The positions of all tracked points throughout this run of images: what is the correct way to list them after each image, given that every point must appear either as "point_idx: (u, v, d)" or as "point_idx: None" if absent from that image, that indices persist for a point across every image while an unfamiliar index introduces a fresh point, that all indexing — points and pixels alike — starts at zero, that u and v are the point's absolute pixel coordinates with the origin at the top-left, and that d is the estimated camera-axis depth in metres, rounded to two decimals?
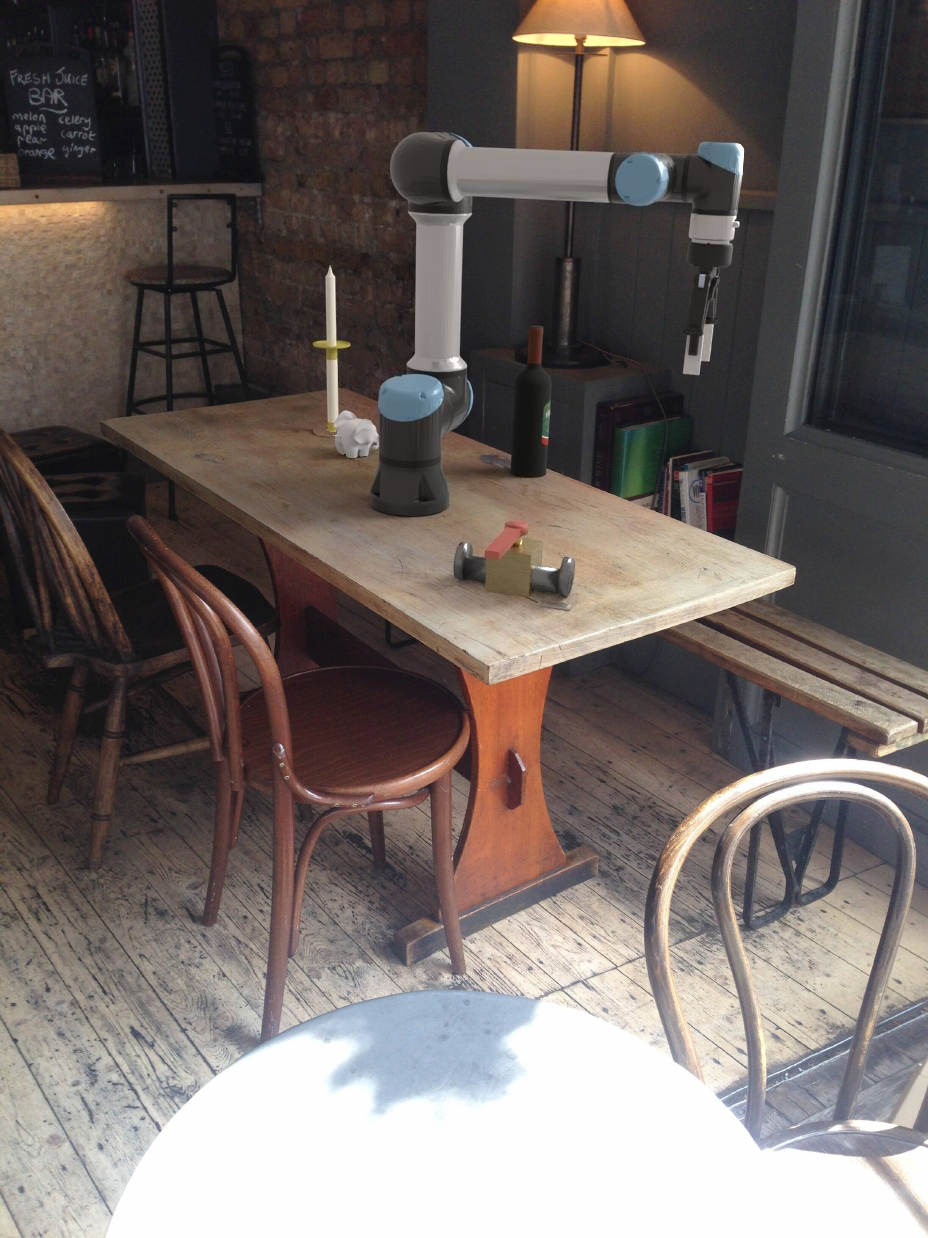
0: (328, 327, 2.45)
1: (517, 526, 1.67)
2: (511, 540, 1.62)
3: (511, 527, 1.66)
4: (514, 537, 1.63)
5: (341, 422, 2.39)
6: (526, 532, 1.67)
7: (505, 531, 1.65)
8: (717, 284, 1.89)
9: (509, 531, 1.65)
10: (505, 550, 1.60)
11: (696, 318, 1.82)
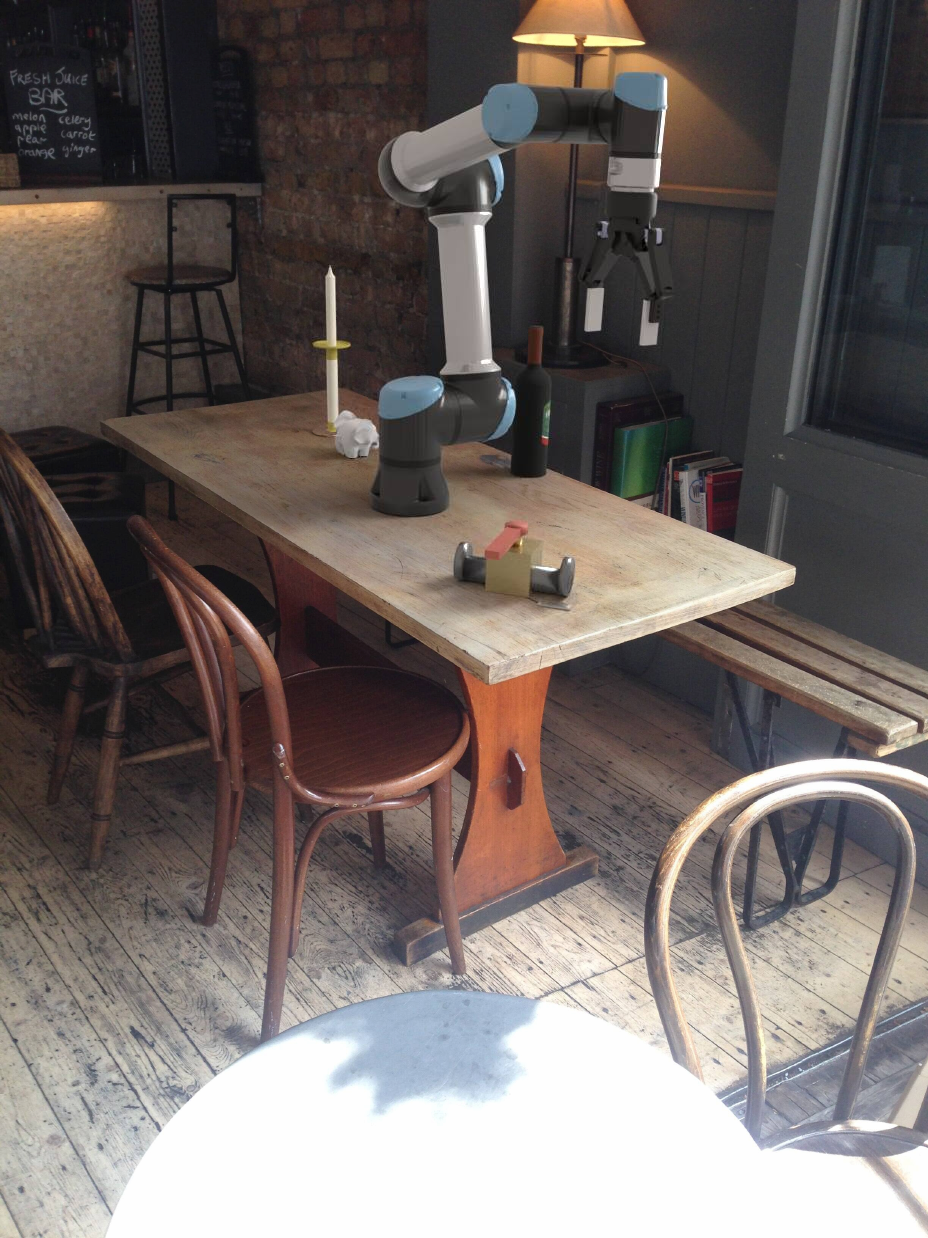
0: (328, 327, 2.45)
1: (517, 526, 1.67)
2: (511, 540, 1.62)
3: (511, 527, 1.66)
4: (514, 537, 1.63)
5: (341, 422, 2.39)
6: (526, 532, 1.67)
7: (505, 531, 1.65)
8: (622, 241, 1.62)
9: (509, 531, 1.65)
10: (505, 550, 1.60)
11: None
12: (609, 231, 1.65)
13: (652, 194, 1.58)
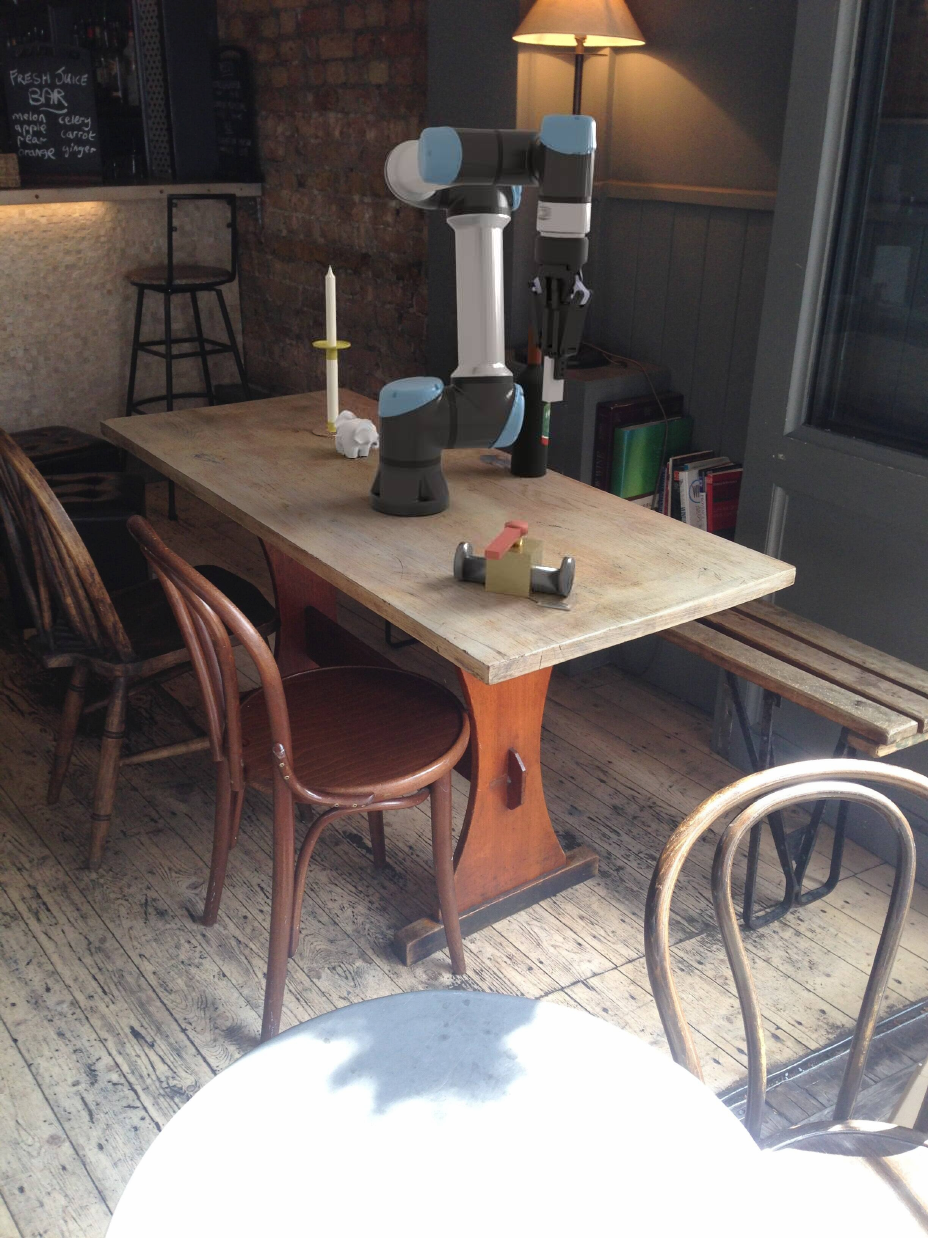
0: (328, 327, 2.45)
1: (517, 526, 1.67)
2: (511, 540, 1.62)
3: (511, 527, 1.66)
4: (514, 537, 1.63)
5: (341, 422, 2.39)
6: (526, 532, 1.67)
7: (505, 531, 1.65)
8: (552, 285, 1.56)
9: (509, 531, 1.65)
10: (505, 550, 1.60)
11: None
12: (541, 276, 1.59)
13: (583, 239, 1.53)
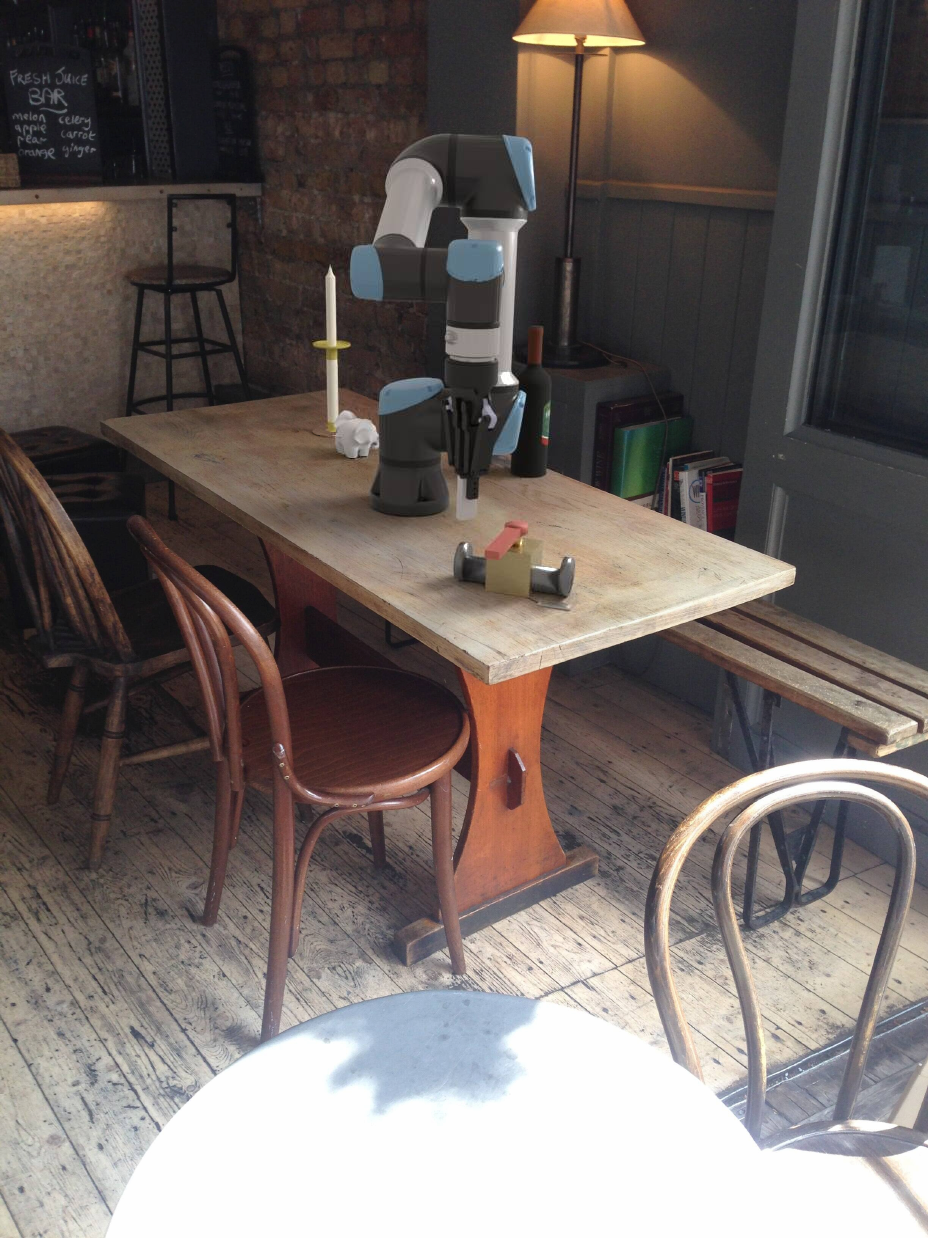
0: (328, 327, 2.45)
1: (517, 526, 1.67)
2: (511, 540, 1.62)
3: (511, 527, 1.66)
4: (514, 537, 1.63)
5: (341, 422, 2.39)
6: (526, 532, 1.67)
7: (505, 531, 1.65)
8: (461, 407, 1.54)
9: (509, 531, 1.65)
10: (505, 550, 1.60)
11: None
12: (453, 396, 1.57)
13: (491, 364, 1.51)
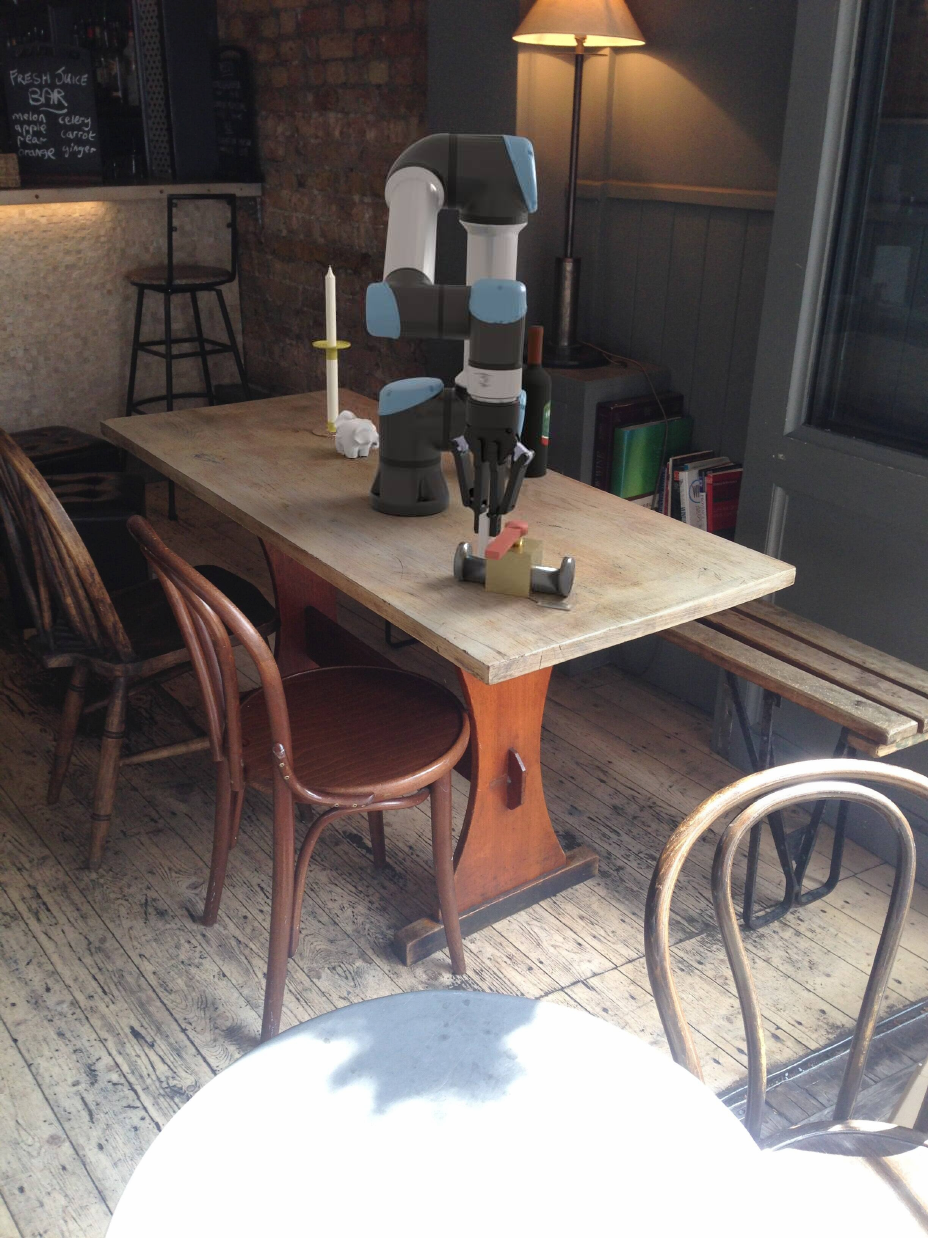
0: (328, 327, 2.45)
1: (517, 526, 1.67)
2: (511, 540, 1.62)
3: (511, 527, 1.66)
4: (514, 537, 1.63)
5: (341, 422, 2.39)
6: (526, 532, 1.67)
7: (505, 531, 1.65)
8: (489, 447, 1.53)
9: (509, 531, 1.65)
10: (505, 550, 1.60)
11: None
12: (469, 437, 1.54)
13: (518, 402, 1.51)
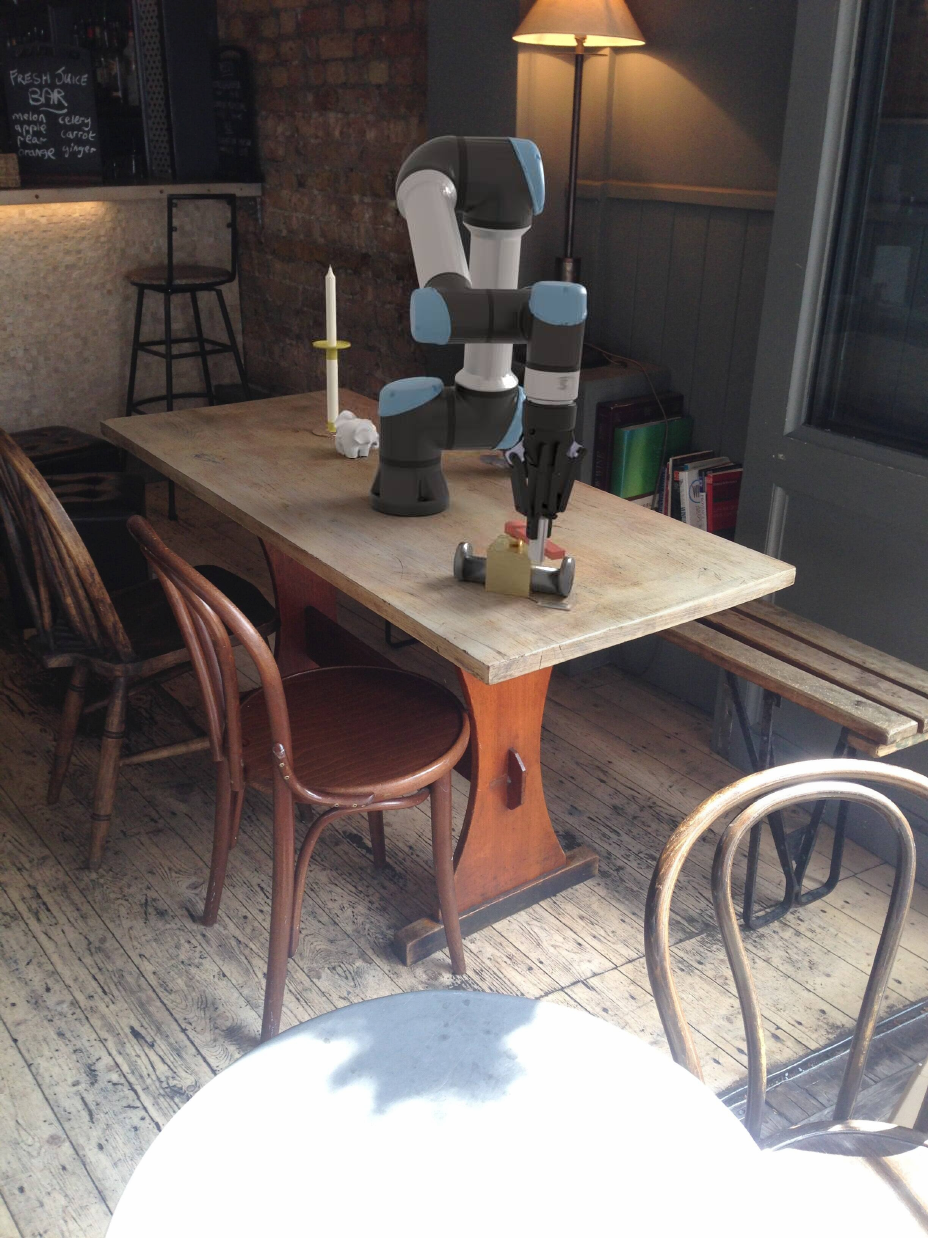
0: (328, 327, 2.45)
1: (521, 526, 1.67)
2: None
3: (519, 528, 1.66)
4: None
5: (341, 422, 2.39)
6: None
7: (524, 532, 1.64)
8: (556, 449, 1.53)
9: None
10: None
11: (518, 500, 1.55)
12: (532, 444, 1.51)
13: None
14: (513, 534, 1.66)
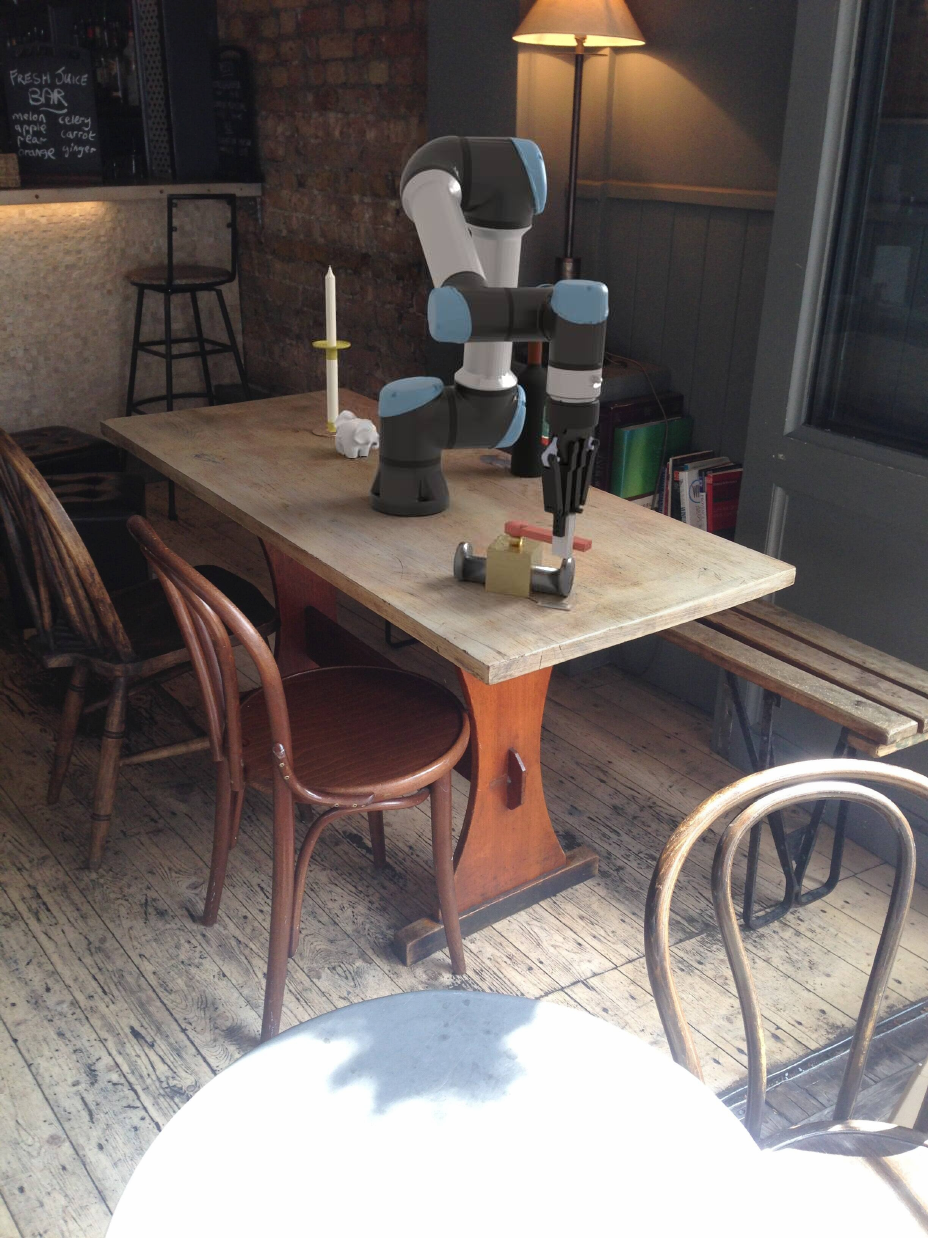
0: (328, 327, 2.45)
1: (522, 525, 1.67)
2: None
3: (523, 527, 1.67)
4: None
5: (341, 422, 2.39)
6: None
7: (534, 530, 1.65)
8: (583, 445, 1.55)
9: (534, 529, 1.66)
10: None
11: (551, 500, 1.55)
12: (565, 444, 1.52)
13: None
14: (519, 534, 1.66)
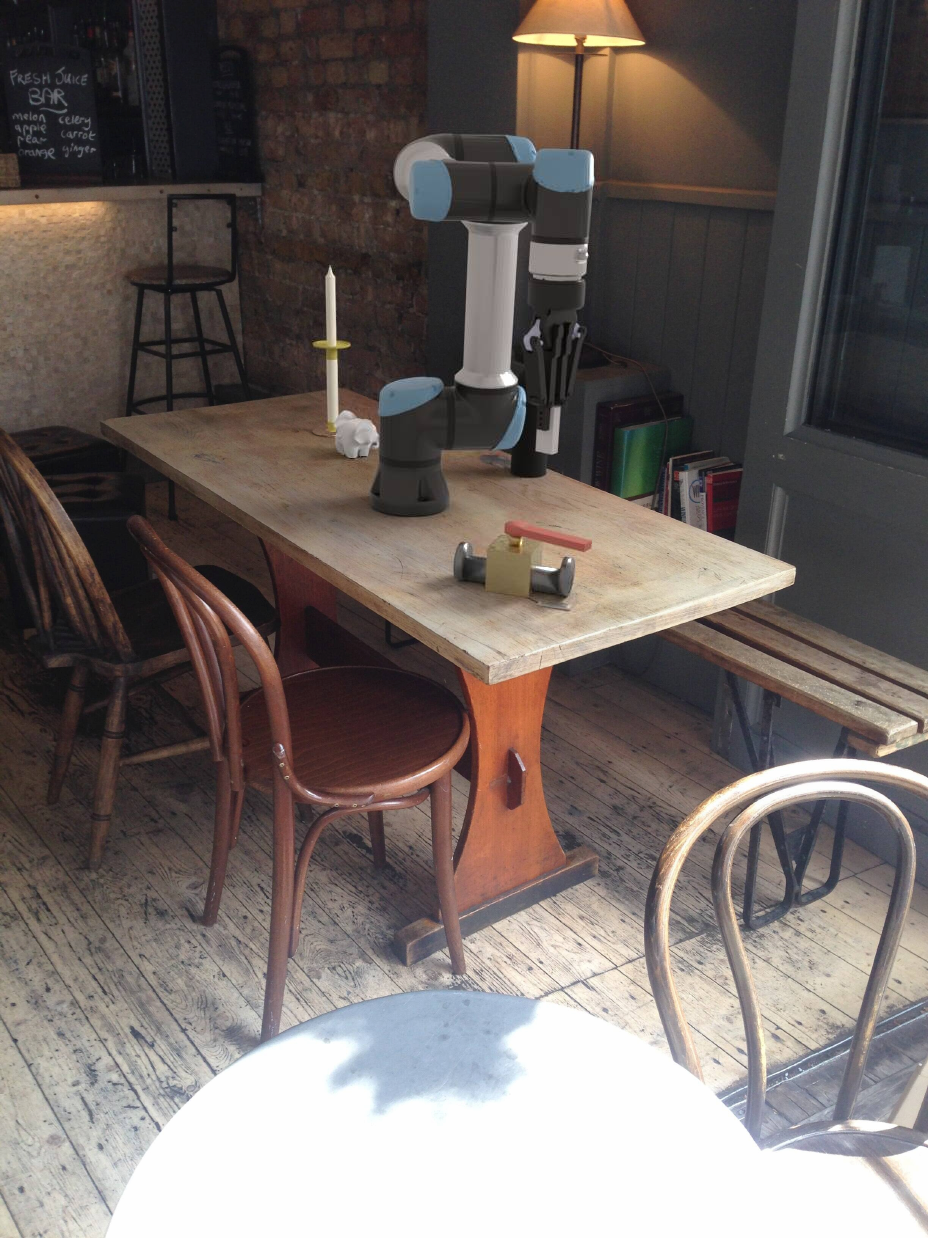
0: (328, 327, 2.45)
1: (522, 525, 1.67)
2: None
3: (523, 527, 1.67)
4: None
5: (341, 422, 2.39)
6: None
7: (534, 530, 1.65)
8: (568, 330, 1.46)
9: (534, 529, 1.66)
10: None
11: (534, 389, 1.46)
12: (548, 326, 1.43)
13: None
14: (519, 534, 1.66)
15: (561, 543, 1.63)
